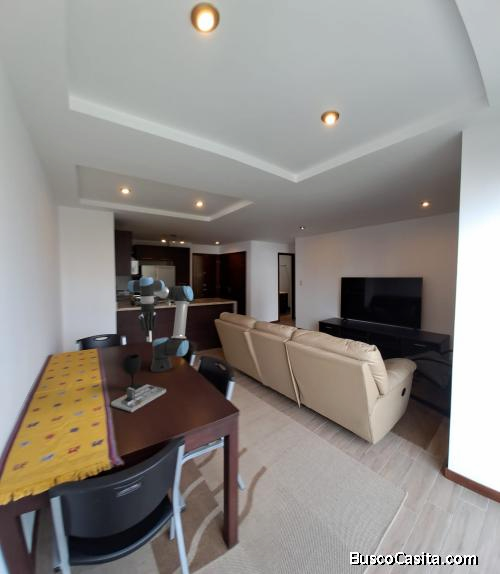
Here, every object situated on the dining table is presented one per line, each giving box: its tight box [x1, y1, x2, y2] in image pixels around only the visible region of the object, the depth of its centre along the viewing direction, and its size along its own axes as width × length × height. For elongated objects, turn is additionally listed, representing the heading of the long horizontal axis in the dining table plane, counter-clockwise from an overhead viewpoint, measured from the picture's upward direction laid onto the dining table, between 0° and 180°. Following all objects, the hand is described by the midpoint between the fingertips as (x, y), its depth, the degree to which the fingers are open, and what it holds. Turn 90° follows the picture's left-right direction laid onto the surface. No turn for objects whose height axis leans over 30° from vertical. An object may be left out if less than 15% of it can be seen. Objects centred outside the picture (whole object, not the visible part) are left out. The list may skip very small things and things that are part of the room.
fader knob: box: [126, 387, 135, 401], centre depth 133 cm, size 2×4×6 cm, turn 65°
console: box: [110, 384, 167, 413], centre depth 138 cm, size 24×16×3 cm, turn 155°
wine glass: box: [122, 354, 143, 392], centre depth 152 cm, size 10×10×20 cm
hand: (149, 341), depth 146 cm, fingers closed
